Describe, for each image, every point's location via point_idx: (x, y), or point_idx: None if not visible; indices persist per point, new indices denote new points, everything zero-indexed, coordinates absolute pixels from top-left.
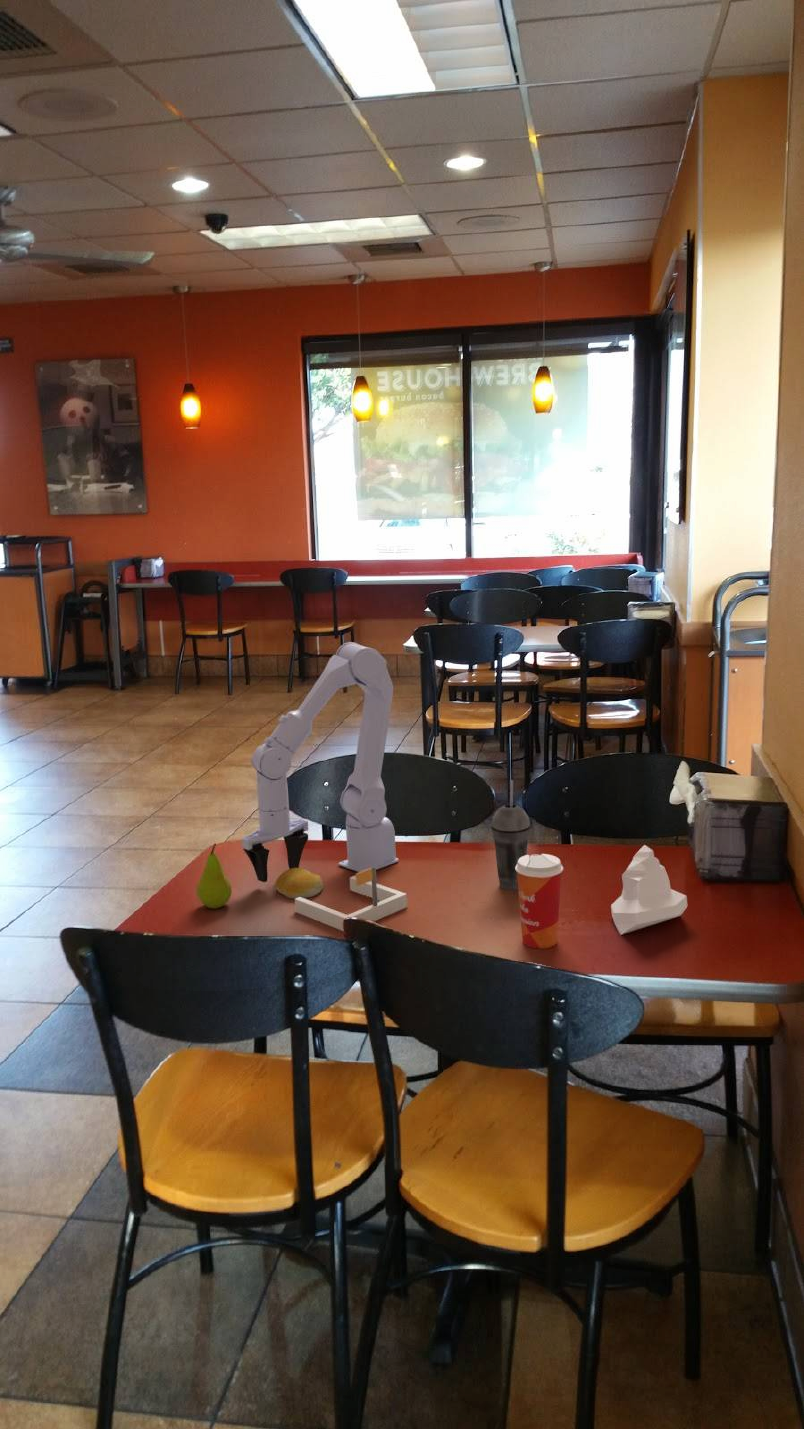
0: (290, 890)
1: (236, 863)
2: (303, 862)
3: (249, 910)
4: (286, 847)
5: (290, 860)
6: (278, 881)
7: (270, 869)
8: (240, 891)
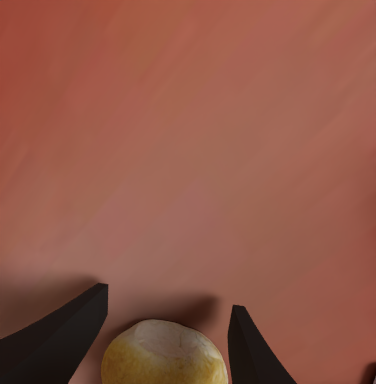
0: None
1: (216, 26)
2: (356, 248)
3: None
4: (257, 378)
5: (237, 341)
6: (102, 374)
7: (239, 197)
8: (55, 248)
